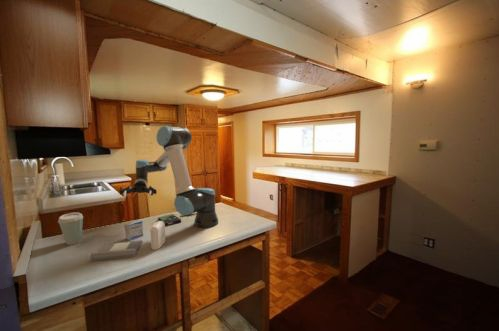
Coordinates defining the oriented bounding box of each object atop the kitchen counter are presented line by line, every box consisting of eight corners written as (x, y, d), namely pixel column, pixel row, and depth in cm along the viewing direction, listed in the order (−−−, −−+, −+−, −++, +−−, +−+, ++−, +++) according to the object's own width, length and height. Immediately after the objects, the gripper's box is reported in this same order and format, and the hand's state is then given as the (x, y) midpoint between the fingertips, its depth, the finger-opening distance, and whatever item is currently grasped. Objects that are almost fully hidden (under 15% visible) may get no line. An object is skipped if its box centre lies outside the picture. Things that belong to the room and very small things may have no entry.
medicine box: (130, 240, 122) (129, 225, 121) (125, 238, 125) (124, 223, 124) (143, 235, 129) (142, 220, 128) (138, 233, 131) (137, 219, 130)
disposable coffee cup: (88, 241, 121) (86, 214, 120) (63, 249, 113) (60, 220, 111) (81, 236, 128) (79, 210, 126) (57, 243, 119) (54, 215, 118)
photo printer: (158, 241, 122) (157, 218, 120) (166, 241, 122) (165, 218, 120) (150, 250, 111) (148, 225, 110) (158, 250, 111) (157, 225, 110)
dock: (142, 242, 120) (142, 236, 120) (134, 256, 105) (134, 249, 105) (104, 246, 116) (104, 240, 116) (91, 261, 101) (90, 254, 101)
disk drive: (181, 223, 150) (172, 217, 161) (181, 219, 149) (172, 213, 160) (166, 227, 143) (157, 220, 154) (166, 223, 142) (157, 216, 153)
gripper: (160, 191, 156) (160, 201, 137) (118, 191, 147) (112, 203, 127) (160, 180, 155) (160, 189, 135) (118, 180, 145) (112, 190, 126)
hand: (137, 196), depth 131 cm, fingers open, 13 cm apart
